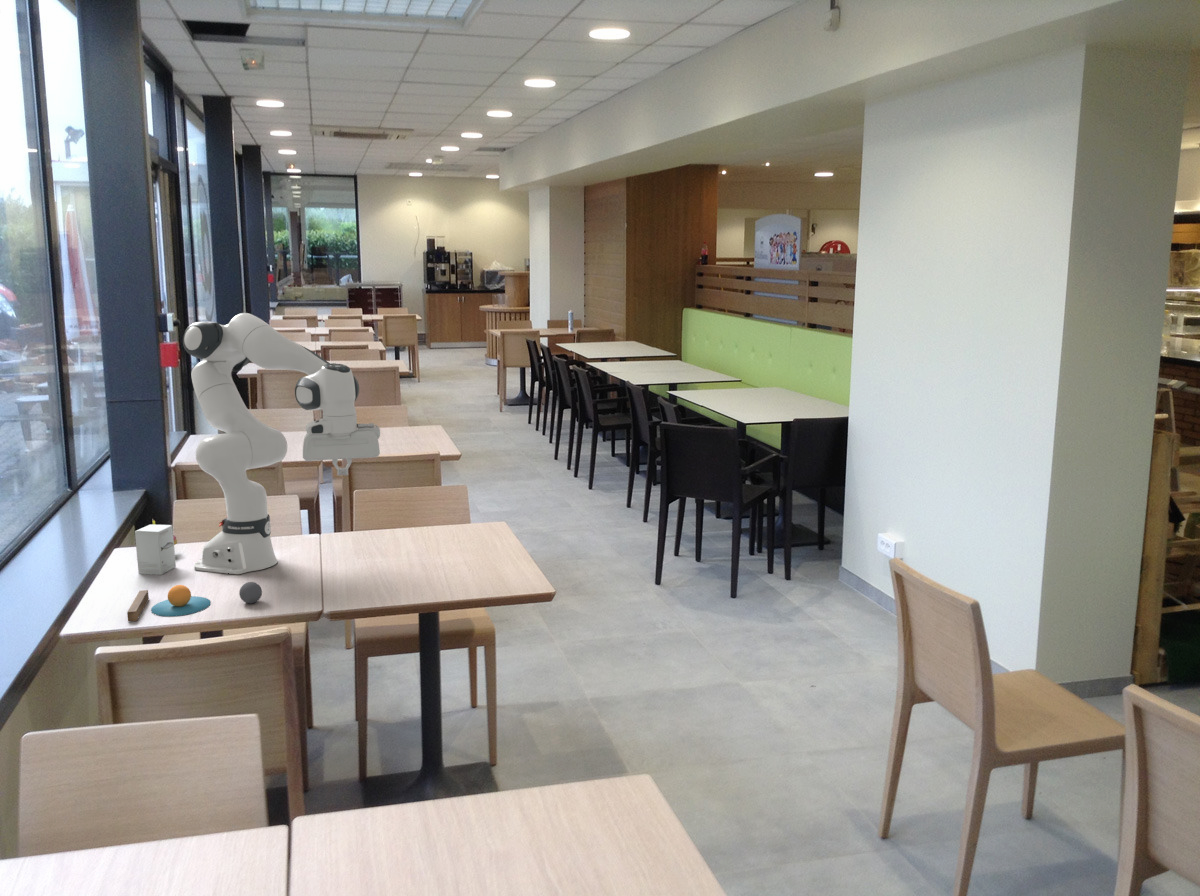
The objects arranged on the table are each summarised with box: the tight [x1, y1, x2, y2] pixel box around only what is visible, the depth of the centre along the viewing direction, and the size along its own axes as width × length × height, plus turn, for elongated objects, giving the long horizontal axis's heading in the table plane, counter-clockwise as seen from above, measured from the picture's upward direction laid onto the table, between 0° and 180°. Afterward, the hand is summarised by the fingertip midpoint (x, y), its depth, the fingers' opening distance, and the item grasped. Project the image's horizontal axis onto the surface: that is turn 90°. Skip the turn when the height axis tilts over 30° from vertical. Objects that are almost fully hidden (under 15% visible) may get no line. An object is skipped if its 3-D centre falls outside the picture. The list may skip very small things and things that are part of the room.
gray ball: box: [238, 581, 263, 604], centre depth 255 cm, size 6×6×6 cm
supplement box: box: [134, 524, 177, 576], centre depth 280 cm, size 7×7×13 cm
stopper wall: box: [126, 589, 150, 622], centre depth 250 cm, size 2×16×2 cm, turn 14°
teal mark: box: [150, 595, 211, 617], centre depth 253 cm, size 14×14×1 cm
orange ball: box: [167, 584, 192, 607], centre depth 253 cm, size 6×6×6 cm
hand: (342, 474), depth 269 cm, fingers closed
